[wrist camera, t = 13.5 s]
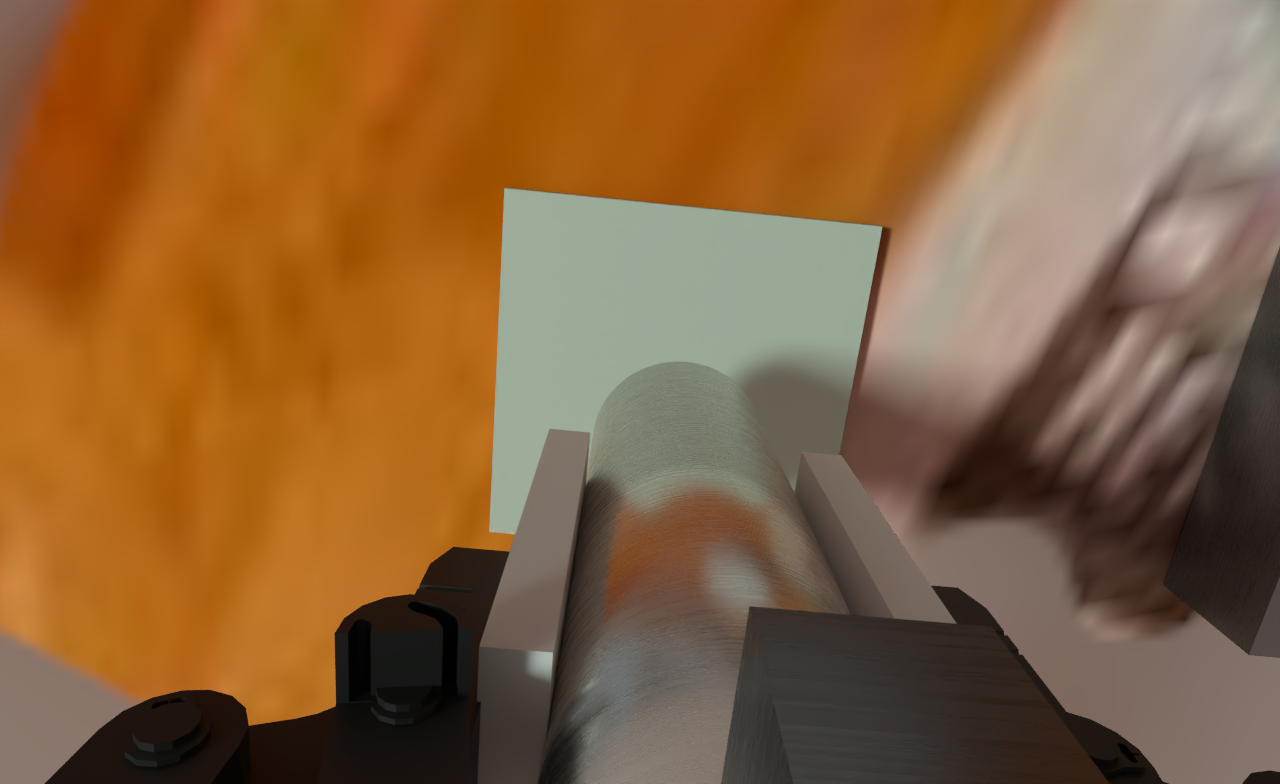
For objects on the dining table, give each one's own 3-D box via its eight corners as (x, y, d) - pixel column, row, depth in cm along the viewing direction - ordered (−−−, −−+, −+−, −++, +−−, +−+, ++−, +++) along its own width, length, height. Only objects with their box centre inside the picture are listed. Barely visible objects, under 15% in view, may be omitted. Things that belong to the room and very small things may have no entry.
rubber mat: (507, 187, 20) (504, 188, 20) (878, 225, 21) (882, 226, 20) (491, 525, 23) (489, 531, 23) (815, 554, 24) (819, 561, 23)
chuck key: (579, 584, 19) (410, 1862, 5) (607, 265, 17) (436, 901, 2) (738, 597, 19) (1030, 1880, 5) (787, 283, 17) (1614, 987, 3)
